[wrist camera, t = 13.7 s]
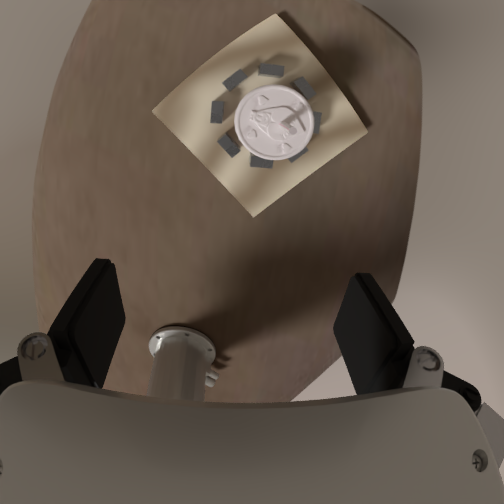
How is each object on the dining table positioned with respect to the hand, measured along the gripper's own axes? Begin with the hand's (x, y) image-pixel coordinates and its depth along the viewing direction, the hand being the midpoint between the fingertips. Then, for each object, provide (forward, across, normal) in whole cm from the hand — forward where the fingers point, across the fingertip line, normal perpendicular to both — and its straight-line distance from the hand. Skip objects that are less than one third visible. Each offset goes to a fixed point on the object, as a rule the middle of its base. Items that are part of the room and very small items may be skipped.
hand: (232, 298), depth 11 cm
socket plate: (+25, -3, -6) cm, 26 cm away
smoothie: (+24, -3, -6) cm, 25 cm away
